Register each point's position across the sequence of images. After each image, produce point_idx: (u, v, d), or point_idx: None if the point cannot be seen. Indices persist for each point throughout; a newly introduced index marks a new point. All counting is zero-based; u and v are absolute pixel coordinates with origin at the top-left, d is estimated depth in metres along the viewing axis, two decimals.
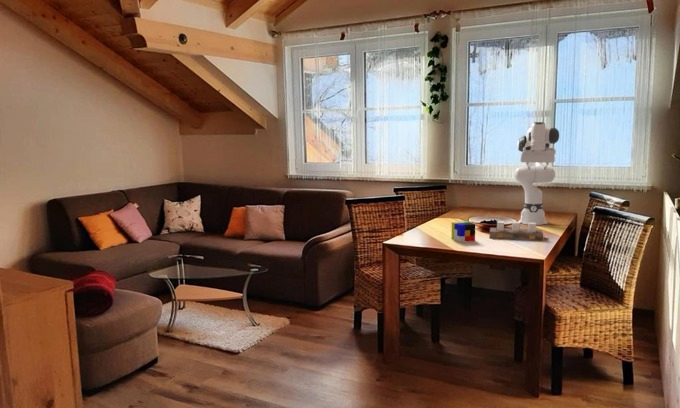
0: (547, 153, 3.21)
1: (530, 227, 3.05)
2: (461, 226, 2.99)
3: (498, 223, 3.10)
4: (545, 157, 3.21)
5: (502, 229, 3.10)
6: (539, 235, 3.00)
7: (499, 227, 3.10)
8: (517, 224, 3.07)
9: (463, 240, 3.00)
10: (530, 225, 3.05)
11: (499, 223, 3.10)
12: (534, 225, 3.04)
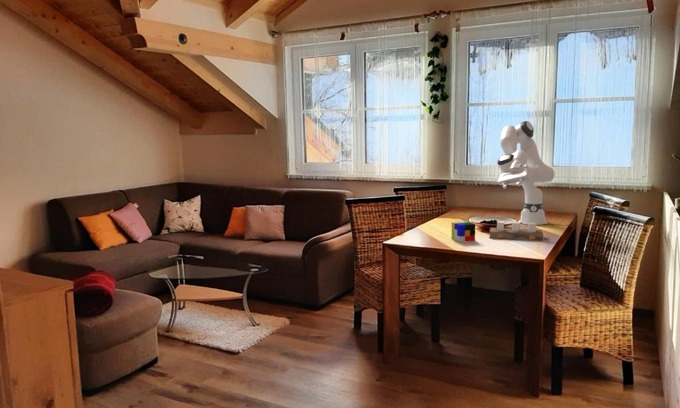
0: None
1: (530, 227, 3.05)
2: (461, 226, 2.99)
3: (498, 223, 3.10)
4: None
5: (502, 229, 3.10)
6: (539, 235, 3.00)
7: (499, 227, 3.10)
8: (517, 224, 3.07)
9: (463, 240, 3.00)
10: (530, 225, 3.05)
11: (499, 223, 3.10)
12: (534, 225, 3.04)
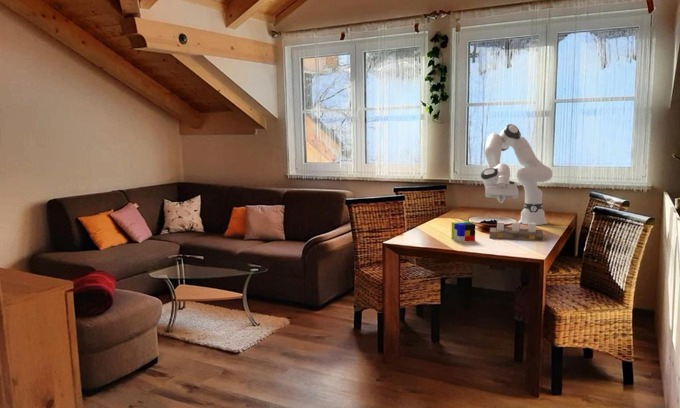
0: None
1: (530, 227, 3.05)
2: (461, 226, 2.99)
3: (498, 223, 3.10)
4: None
5: (502, 229, 3.10)
6: (539, 235, 3.00)
7: (499, 227, 3.10)
8: (517, 224, 3.07)
9: (463, 240, 3.00)
10: (530, 225, 3.05)
11: (499, 223, 3.10)
12: (534, 225, 3.04)
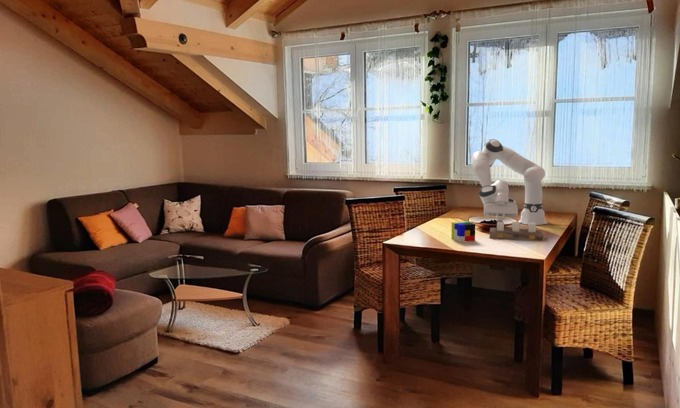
0: None
1: (530, 227, 3.05)
2: (461, 226, 2.99)
3: (498, 223, 3.10)
4: None
5: (502, 229, 3.10)
6: (539, 235, 3.00)
7: (499, 227, 3.10)
8: (517, 224, 3.07)
9: (463, 240, 3.00)
10: (530, 225, 3.05)
11: (499, 223, 3.10)
12: (534, 225, 3.04)
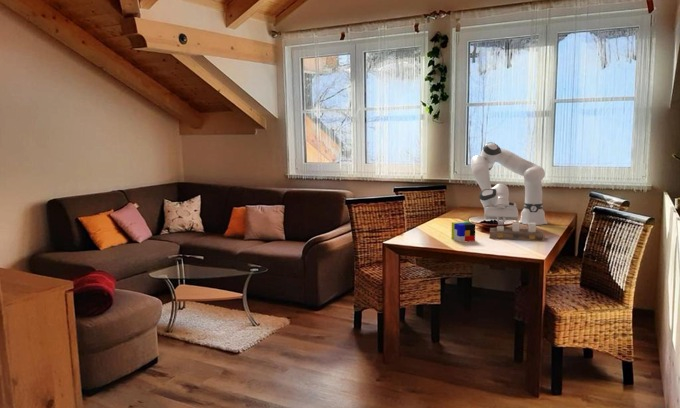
0: None
1: (530, 227, 3.05)
2: (461, 226, 2.99)
3: (498, 228, 3.11)
4: None
5: None
6: (539, 235, 3.00)
7: None
8: (517, 224, 3.07)
9: (463, 240, 3.00)
10: (530, 225, 3.05)
11: (499, 228, 3.10)
12: (534, 225, 3.04)
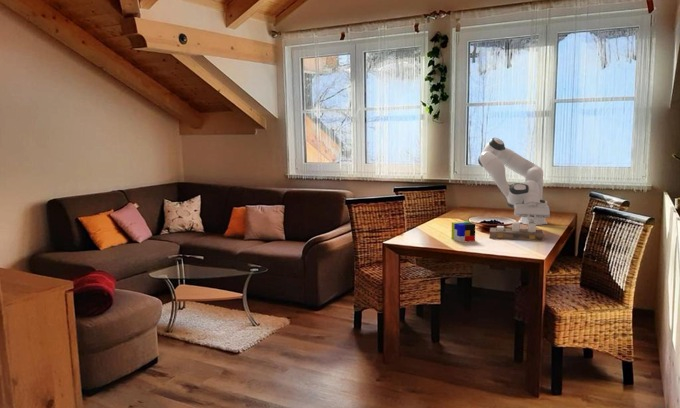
0: None
1: (530, 227, 3.05)
2: (461, 226, 2.99)
3: (498, 228, 3.11)
4: None
5: None
6: (539, 235, 3.00)
7: None
8: (517, 224, 3.07)
9: (463, 240, 3.00)
10: (530, 225, 3.05)
11: (499, 228, 3.10)
12: (534, 225, 3.04)
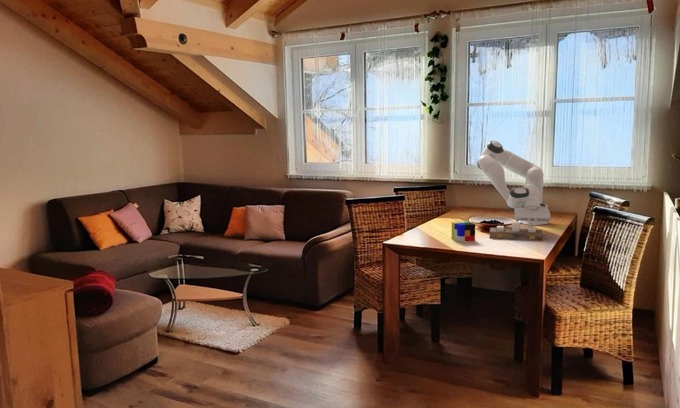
0: None
1: None
2: (461, 226, 2.99)
3: (498, 228, 3.11)
4: None
5: None
6: (539, 235, 3.00)
7: None
8: (517, 224, 3.07)
9: (463, 240, 3.00)
10: (530, 230, 3.05)
11: (499, 228, 3.10)
12: (534, 230, 3.05)
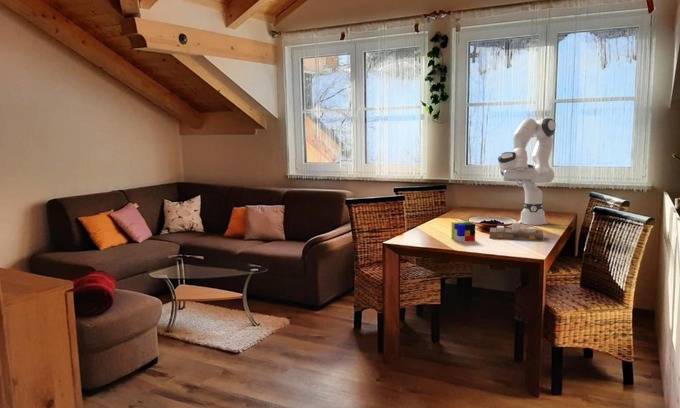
0: None
1: None
2: (461, 226, 2.99)
3: (498, 228, 3.11)
4: None
5: None
6: (539, 235, 3.00)
7: None
8: (517, 224, 3.07)
9: (463, 240, 3.00)
10: (530, 230, 3.05)
11: (499, 228, 3.10)
12: (534, 230, 3.05)
